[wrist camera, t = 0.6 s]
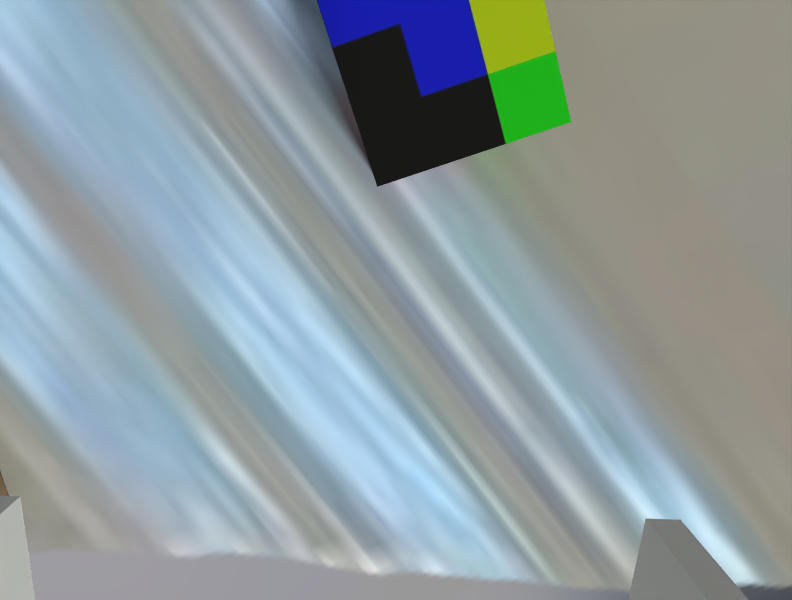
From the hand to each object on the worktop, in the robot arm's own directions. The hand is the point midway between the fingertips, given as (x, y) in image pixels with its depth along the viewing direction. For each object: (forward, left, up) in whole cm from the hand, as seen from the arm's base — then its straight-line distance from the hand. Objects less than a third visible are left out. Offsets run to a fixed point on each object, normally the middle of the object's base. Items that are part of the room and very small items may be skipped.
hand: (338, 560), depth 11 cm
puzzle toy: (-13, +5, -27) cm, 30 cm away
